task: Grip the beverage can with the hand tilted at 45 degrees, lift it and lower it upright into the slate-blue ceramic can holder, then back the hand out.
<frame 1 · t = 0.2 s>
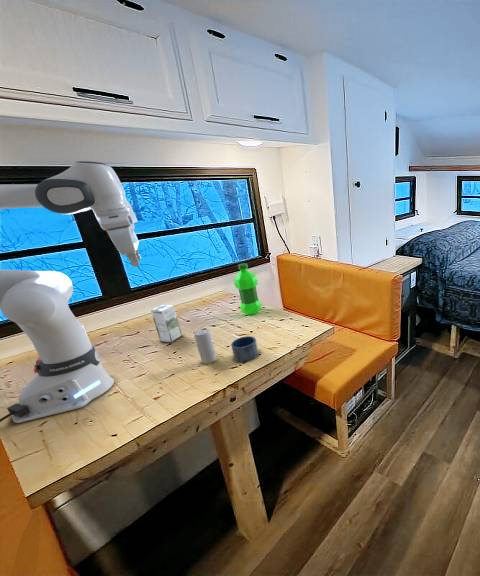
hand: (137, 262, 96), 39 cm above the table, tool pointing down, fingers open, 8 cm apart
plastic bottle: (252, 312, 152), on the table
syrup box: (171, 338, 129), on the table
beverage can: (209, 361, 113), on the table
can holder: (246, 355, 115), on the table
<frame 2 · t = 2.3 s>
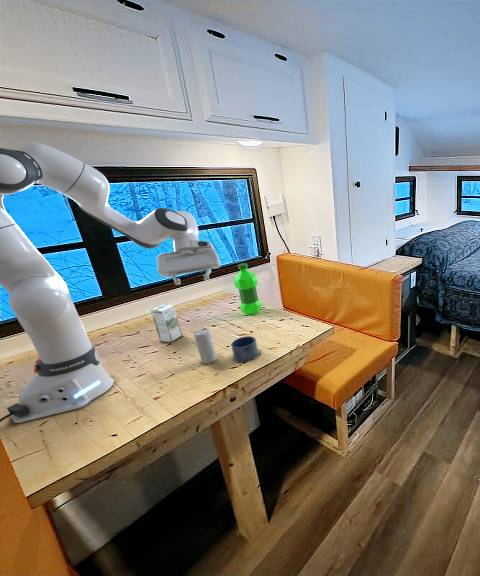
hand: (192, 281, 112), 28 cm above the table, tool tilted 45°, fingers open, 8 cm apart
nothing on the table moved.
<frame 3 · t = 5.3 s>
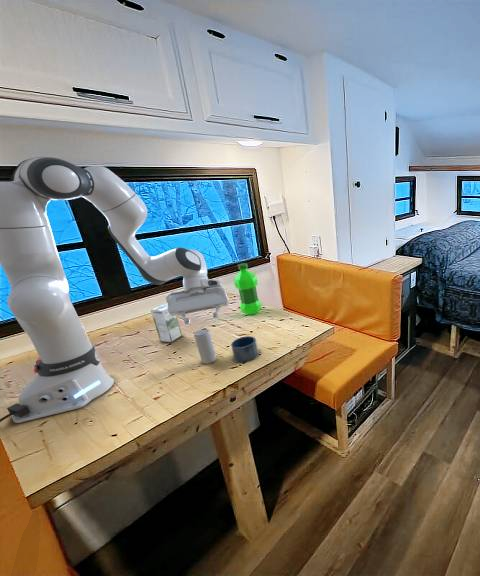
hand: (201, 320, 115), 13 cm above the table, tool tilted 45°, fingers open, 8 cm apart
nothing on the table moved.
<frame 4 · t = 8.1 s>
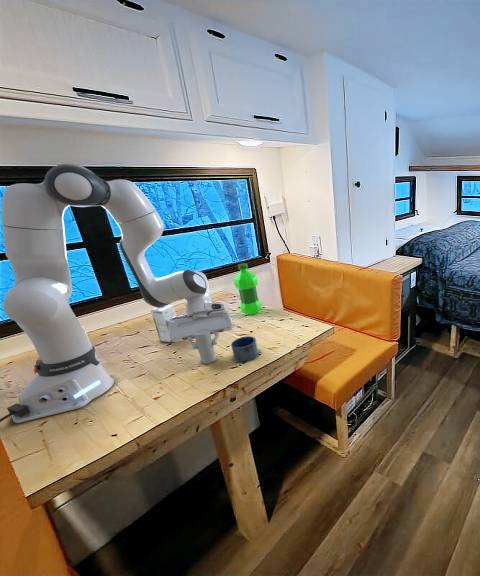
hand: (205, 346, 110), 6 cm above the table, tool tilted 45°, fingers closed on beverage can, 5 cm apart
beverage can: (209, 361, 113), on the table, touching gripper
everything else where it was.
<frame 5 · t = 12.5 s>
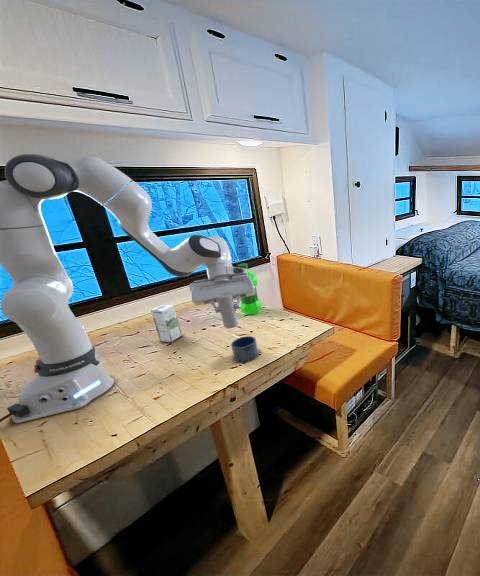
hand: (227, 310, 107), 19 cm above the table, tool tilted 45°, fingers closed on beverage can, 5 cm apart
beverage can: (231, 326, 110), point 13 cm above the table, touching gripper
everything else where it was.
when the fingers open (7 cm above the table, at t = 16.7 s): beverage can stays where it is, resting on can holder.
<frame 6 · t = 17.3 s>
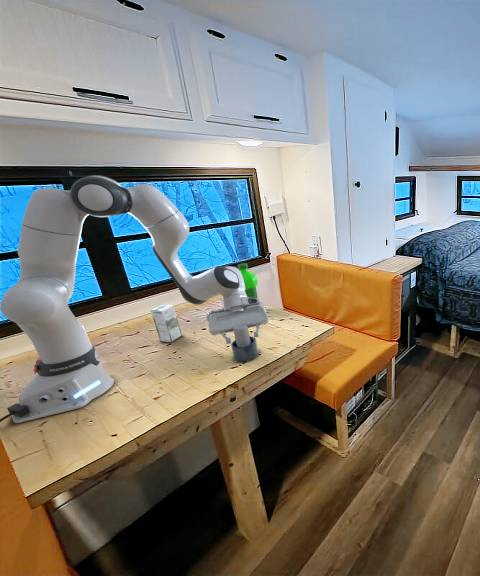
hand: (243, 340, 112), 7 cm above the table, tool tilted 45°, fingers open, 8 cm apart
beverage can: (246, 355, 115), resting on can holder
everything else where it was.
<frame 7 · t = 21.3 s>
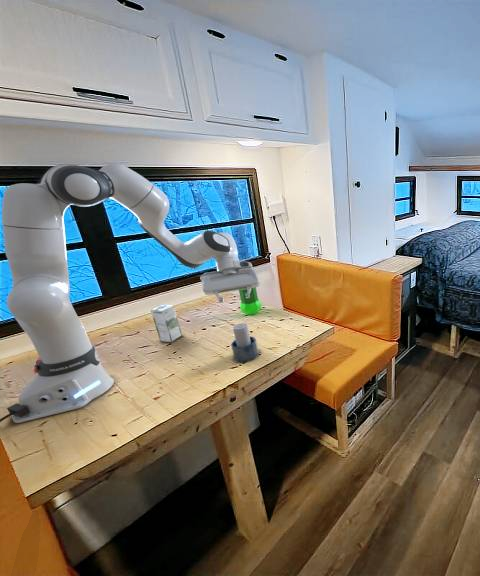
hand: (234, 299, 119), 19 cm above the table, tool tilted 45°, fingers open, 8 cm apart
nothing on the table moved.
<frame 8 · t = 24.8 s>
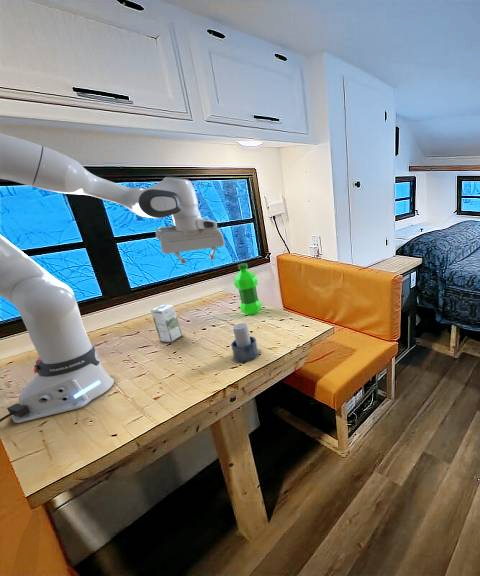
hand: (198, 261, 115), 34 cm above the table, tool pointing down, fingers open, 8 cm apart
nothing on the table moved.
at the end: beverage can 0.0 cm off-centre in the can holder, point 0.3 cm above the can holder's base; beverage can tilted 0°; the gripper is holding nothing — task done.
